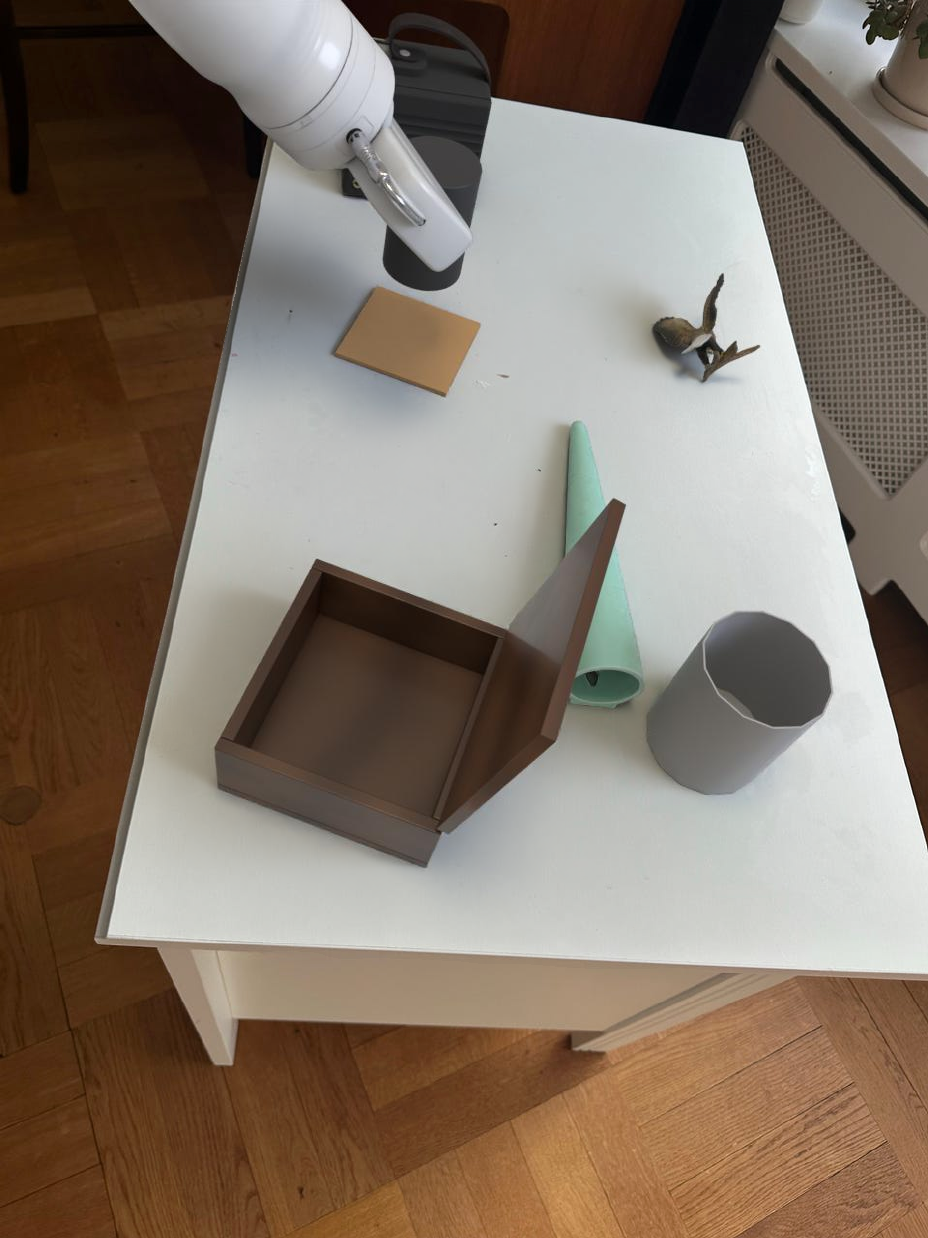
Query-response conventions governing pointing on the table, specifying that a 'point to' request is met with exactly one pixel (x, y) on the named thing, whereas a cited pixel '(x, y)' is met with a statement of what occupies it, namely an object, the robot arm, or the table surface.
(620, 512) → the chest lid
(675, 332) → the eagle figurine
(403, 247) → the dark grey cylinder
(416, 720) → the chest
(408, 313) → the cork mat
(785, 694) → the cup
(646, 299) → the table surface
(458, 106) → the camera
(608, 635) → the mint green cone
